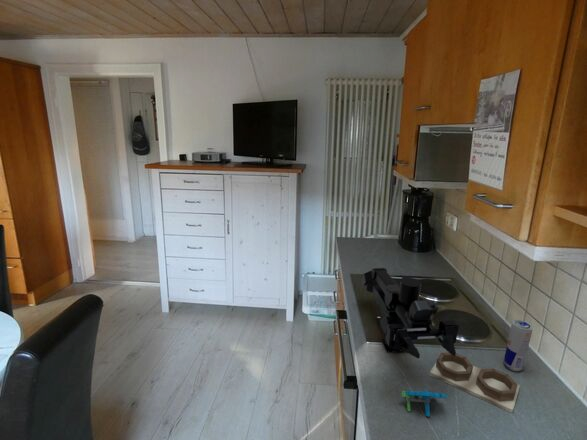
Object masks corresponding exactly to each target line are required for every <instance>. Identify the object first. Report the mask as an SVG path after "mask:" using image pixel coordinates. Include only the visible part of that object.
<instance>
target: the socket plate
mask: <svg viewBox="0 0 587 440" xmlns="http://www.w3.org/2000/svg"><path fill="white" fill-rule="evenodd" d="M429 376H431V377H433V378H434V379H435V378H436V379H438V380H439V381H442V382H444V383H447V384H449V385H450V386H452V387H454V388H457V389H459V390H461V391H463V392H466V393H468V394H470V395H472V396H474V397H477V398H478V399H481V400H482V401H484V402H488V403H489V404H492V405H494V406H495V407H498V408H500V409H503V410H504V411H507V412H508V413H511V414H513V412H514V408H515V405H516V401H517V397H518V394H519V391H520V388H521V384H519V383H517V382H516V381H515V380H514V379H513V378H512V377H511V376H510V375H509V374H508V373H505V372H503V371H501V370H498V369H496V368H480V367H477V366H474V365H473V364H472V363H471V362H470V360H469V359H468V358H467V356H463V355H461V354H459V353H456V355H455V356H453V355H452V354H450V353H449V352H448V351H447V352H440V353H439V355H438V357H437V358H436V362H435V364H434V365H433V367H432V368H431V369H430V372H429Z"/></svg>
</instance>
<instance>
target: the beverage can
mask: <svg viewBox="0 0 587 440" xmlns="http://www.w3.org/2000/svg"><path fill="white" fill-rule="evenodd" d="M532 333H533V325H532V324H531V323H530V322H528V321H526V320H521V319H513V320H512V322H511V325H510V330H509V334H508V338H507V344H506V349H505V354H504V359H503V364H504V365H505V366H506V368H507V369H508V370H510V371H512V372H520V371H522V370H524V366H525V362H526V359H527V358H526V357H527V354H528V349H529V346H530V341H531V337H532Z"/></svg>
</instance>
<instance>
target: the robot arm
mask: <svg viewBox="0 0 587 440" xmlns="http://www.w3.org/2000/svg"><path fill="white" fill-rule="evenodd" d="M360 281H361V286H363V288H364V289H365V290H366V291H368V292H369V293H372V294H373V295H374V297H375V299H376V302H378V305H379V306H380V307H381V310H382V311H383V313H384V317H383V318H381V319H380V320H379V324H380V325H379V326H380V328H381V330H382V332H383V334H384V337H385V338H381V343H382V346H383V347H384V350H385V351H386V353H407V354H408V355H409V356H413V357H415V358H417V359H420V356H421V355H420V352H419V350H418V349H417V347H416V345H415V344H414V342H413V341H424V340H426V341H427V340H428V339H438V340H437V341H438V342H439V343H440V344H441V346H442V348H443V349H444V350H446V351H447V352H449V353H450V354H452V355H453V356H455V355H456V354H457V352H456V347H455V343H457V340H458V339H457V338H458V333H459V327H460V326H459V325H458V324H457V322H456V321H454V320H441V321H439V323H438V328H431V326H430V325H432V322H433V320H432V319H431V316H432V315H436V314H437V313H438V311H439V307H438V304H437V303H436V302H435V301H434V300H425V299H424V300H423V299H422V300H420V296H421V290H422V289H421V288H422V281H421V280H419V279H417V278H414V277H411V276H409V275H404V276H402V277H401V279H400V281H399V285H398V284H397V283H396V282H395V280H394V279H393V278H392V277H391V275H389V273H388V270H387V268H385V267H374V268H372V269H371V270H369V271H367V272H364V273H363V275H362V276H361V280H360Z"/></svg>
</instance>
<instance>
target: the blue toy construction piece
mask: <svg viewBox="0 0 587 440" xmlns="http://www.w3.org/2000/svg"><path fill="white" fill-rule="evenodd" d="M401 397H404V401H405V402H406V407H407V412H411V402H416V403H417V402H418V403H424V409H425V410H424V411H425V412H424V413H425V416H426V417H431V411H430V403H431V398H433V399H448V395H447V394H446V393H440V392H429V390H427V389H424V390H423V391H417V390H415V391H414V390H413V391H412V390H407V391H406V390H401ZM415 397H422V399H414V398H415Z"/></svg>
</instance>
